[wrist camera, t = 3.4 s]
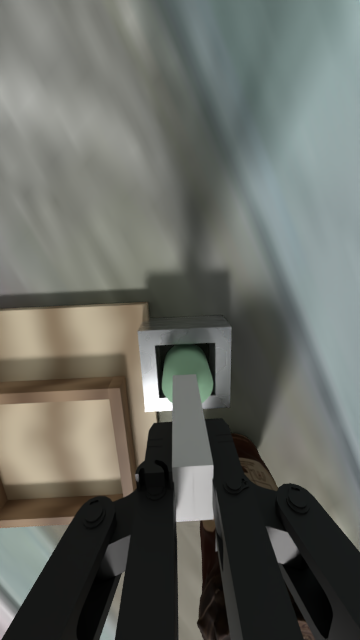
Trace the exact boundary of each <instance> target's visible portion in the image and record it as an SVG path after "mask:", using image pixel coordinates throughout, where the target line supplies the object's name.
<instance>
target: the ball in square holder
mask: <svg viewBox="0 0 360 640" xmlns="http://www.w3.org/2000/svg"><path fill="white" fill-rule="evenodd" d="M231 329H232V327H231V325H230V324H229V323H228V322H227V320H226V319H225V318H224V317H223V315H212V316H191V317H170V318H149V321H148V322H142V323H141V325H140V327H139V329H138V342H139V352H140V362H141V372H142V382H143V392H144V402H145V412H150V411H170V410H172V403H171V402H170V401H169V400H168V399H167V398H166V397H165V395H164V393H163V390H162V378H163V376H161V362H160V349H159V345H174V344H195V343H209V369H210V372H211V375H212V379H213V389H212V392H211V394H210V396H209V397H208V398H207V400H205V401H204V402H203V403H202V408H203V409H210V408H230V386H231Z"/></svg>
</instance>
